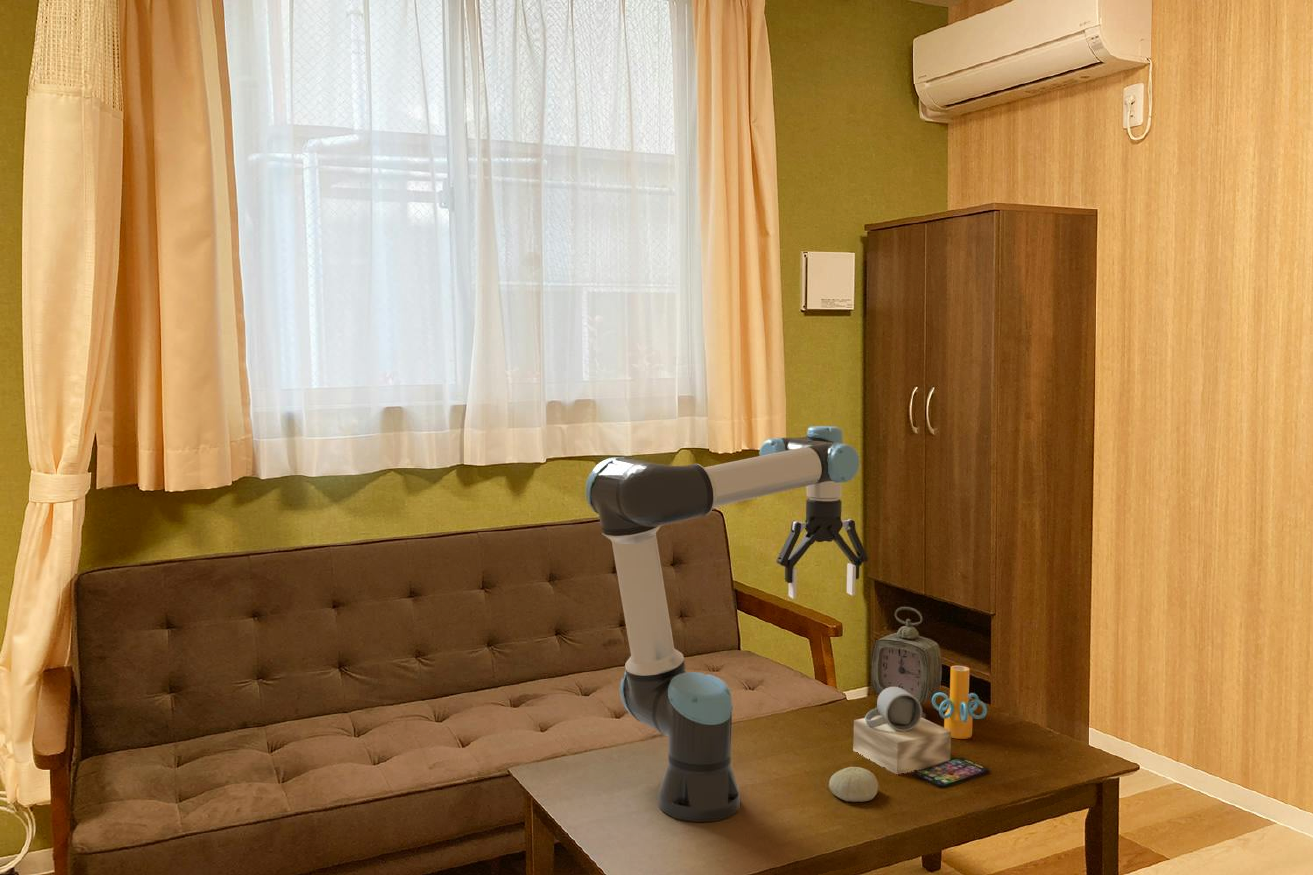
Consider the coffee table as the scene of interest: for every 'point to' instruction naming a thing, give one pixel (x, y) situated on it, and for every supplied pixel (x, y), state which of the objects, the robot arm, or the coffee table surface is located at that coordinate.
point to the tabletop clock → (907, 662)
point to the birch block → (902, 745)
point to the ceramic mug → (895, 710)
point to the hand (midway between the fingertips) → (821, 595)
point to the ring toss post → (959, 704)
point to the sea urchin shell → (854, 784)
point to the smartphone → (951, 772)
